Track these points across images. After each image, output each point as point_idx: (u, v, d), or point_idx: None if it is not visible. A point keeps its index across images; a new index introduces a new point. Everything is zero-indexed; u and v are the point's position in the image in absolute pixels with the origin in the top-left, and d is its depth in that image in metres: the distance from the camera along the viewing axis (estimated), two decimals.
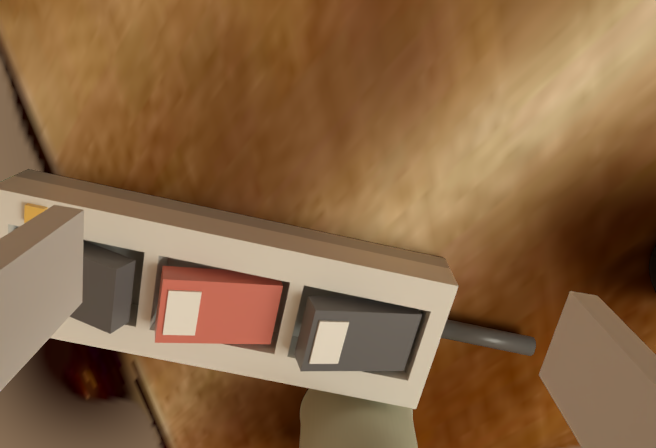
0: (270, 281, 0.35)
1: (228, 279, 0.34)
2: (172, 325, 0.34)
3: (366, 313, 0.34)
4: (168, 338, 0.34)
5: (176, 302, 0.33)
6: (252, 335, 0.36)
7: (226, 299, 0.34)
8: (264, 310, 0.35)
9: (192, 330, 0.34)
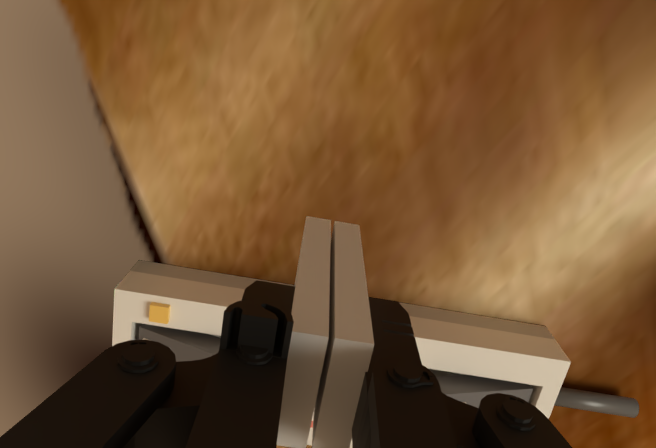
0: None
1: None
2: None
3: (482, 393, 0.35)
4: None
5: None
6: None
7: None
8: None
9: None
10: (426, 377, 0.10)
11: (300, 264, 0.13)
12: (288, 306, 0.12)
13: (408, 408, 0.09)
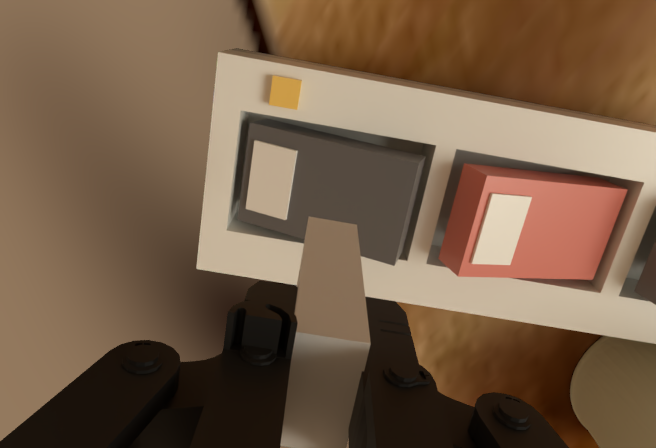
0: (606, 184, 0.24)
1: (558, 180, 0.23)
2: (484, 249, 0.23)
3: None
4: (475, 269, 0.23)
5: (495, 212, 0.22)
6: (575, 266, 0.25)
7: (556, 209, 0.23)
8: (597, 227, 0.24)
9: (508, 257, 0.23)
10: (422, 376, 0.10)
11: (303, 264, 0.13)
12: (291, 307, 0.12)
13: (404, 407, 0.09)
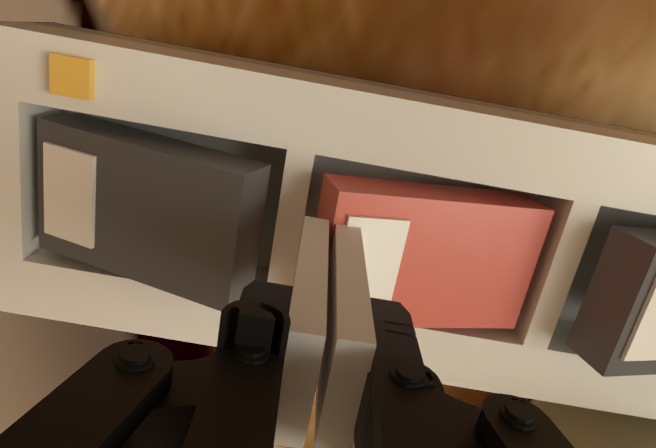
0: (526, 203, 0.18)
1: (454, 197, 0.17)
2: None
3: None
4: None
5: None
6: (487, 311, 0.19)
7: (451, 237, 0.17)
8: (514, 260, 0.18)
9: None
10: (429, 378, 0.10)
11: (298, 264, 0.13)
12: (286, 306, 0.12)
13: (411, 408, 0.09)
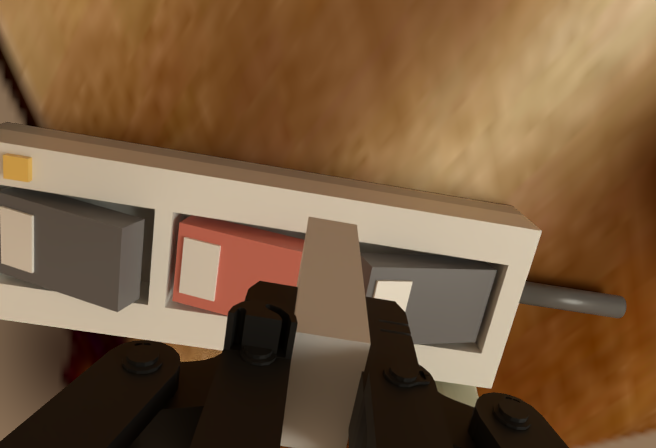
0: None
1: (255, 237, 0.28)
2: (190, 283, 0.29)
3: (432, 270, 0.28)
4: (186, 298, 0.29)
5: (193, 254, 0.28)
6: None
7: (249, 262, 0.28)
8: (296, 286, 0.27)
9: (211, 294, 0.28)
10: (422, 376, 0.10)
11: (303, 264, 0.13)
12: (291, 307, 0.12)
13: (404, 407, 0.09)
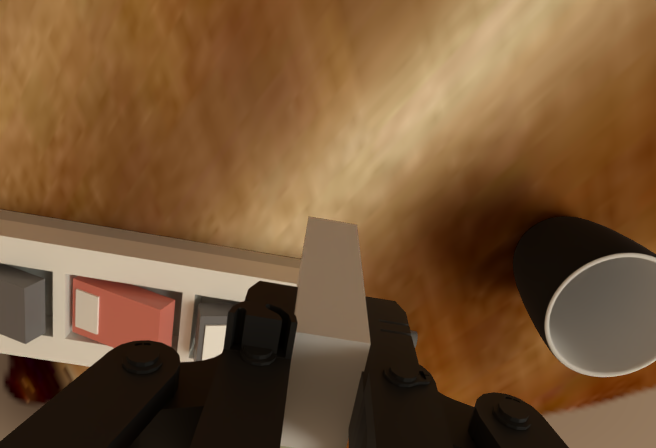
0: (155, 303, 0.38)
1: (122, 292, 0.39)
2: (82, 320, 0.40)
3: None
4: (80, 331, 0.41)
5: (83, 300, 0.40)
6: None
7: (117, 309, 0.39)
8: (147, 329, 0.38)
9: (95, 329, 0.40)
10: (422, 376, 0.10)
11: (303, 265, 0.13)
12: (291, 306, 0.12)
13: (404, 407, 0.09)
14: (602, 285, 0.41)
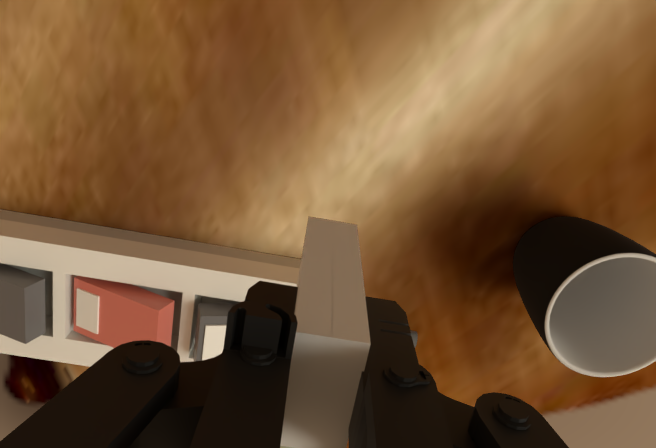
0: (154, 304, 0.38)
1: (122, 292, 0.39)
2: (83, 319, 0.40)
3: None
4: (81, 330, 0.41)
5: (83, 300, 0.40)
6: None
7: (117, 309, 0.39)
8: (146, 329, 0.38)
9: (95, 329, 0.40)
10: (422, 376, 0.10)
11: (303, 265, 0.13)
12: (291, 306, 0.12)
13: (404, 407, 0.09)
14: (602, 285, 0.41)
